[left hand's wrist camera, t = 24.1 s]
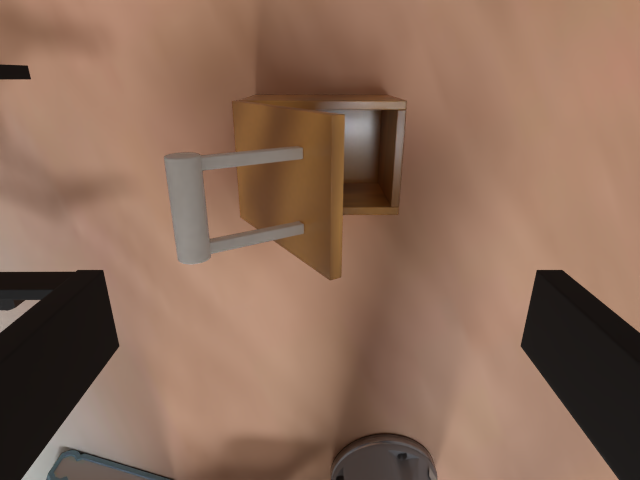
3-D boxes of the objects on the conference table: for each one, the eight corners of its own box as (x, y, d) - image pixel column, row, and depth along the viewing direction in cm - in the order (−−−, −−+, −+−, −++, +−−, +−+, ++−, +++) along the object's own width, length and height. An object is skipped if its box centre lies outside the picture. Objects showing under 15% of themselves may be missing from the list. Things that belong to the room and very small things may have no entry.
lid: (345, 114, 22) (176, 124, 18) (341, 277, 26) (200, 318, 21) (242, 100, 33) (122, 104, 29) (249, 215, 37) (144, 234, 32)
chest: (388, 95, 42) (406, 100, 33) (383, 188, 46) (398, 215, 37) (254, 94, 42) (237, 100, 33) (259, 187, 46) (245, 214, 37)
